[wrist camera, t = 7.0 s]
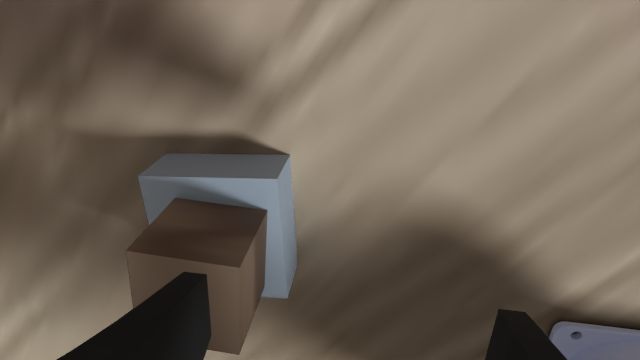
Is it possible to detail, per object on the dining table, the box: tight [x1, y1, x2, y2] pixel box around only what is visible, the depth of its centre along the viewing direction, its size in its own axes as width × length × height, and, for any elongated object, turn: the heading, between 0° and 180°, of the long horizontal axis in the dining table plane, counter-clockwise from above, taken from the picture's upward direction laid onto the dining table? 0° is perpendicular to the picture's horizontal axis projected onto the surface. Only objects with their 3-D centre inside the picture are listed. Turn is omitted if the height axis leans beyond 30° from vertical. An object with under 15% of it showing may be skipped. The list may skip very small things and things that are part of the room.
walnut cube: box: [126, 198, 268, 355], centre depth 18 cm, size 4×4×4 cm
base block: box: [138, 153, 298, 298], centre depth 21 cm, size 6×6×3 cm
